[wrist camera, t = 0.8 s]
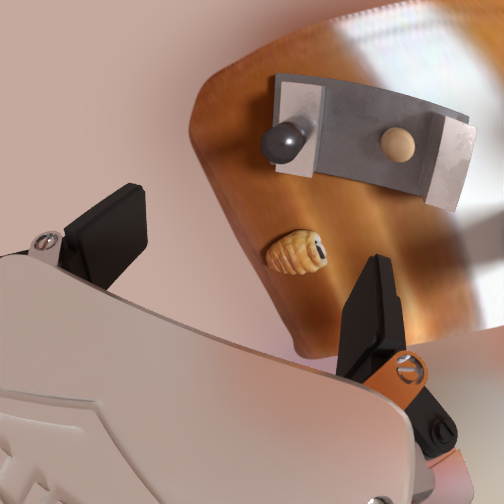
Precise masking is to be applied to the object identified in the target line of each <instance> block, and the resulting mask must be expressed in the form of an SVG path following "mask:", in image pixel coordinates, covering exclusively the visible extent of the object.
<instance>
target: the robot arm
mask: <svg viewBox="0 0 504 504" xmlns="http://www.w3.org/2000/svg"><path fill="white" fill-rule="evenodd" d="M64 232H65V236H64V237H63V238H62V235H61V234H60V233H59V232H56V231H48V232H44V233H42V234H40V235H38V236H37V237H36V238H35V239H34V240H33V241H32V243H31V246H30V249H29V250H25V251H21V252H17V253H12V254H8V255H4V256H0V504H471V502H472V500H473V497H474V488H473V484H472V481H471V479H470V475H469V473H468V470H467V467H466V465H465V462H464V459H463V456H462V454H461V451H460V449H458V450H456V449H455V444H456V442H457V437H458V435H457V428H456V425H455V423H454V421H453V420H452V419H451V417H449V415H448V414H447V412H446V411H445V410H444V409H443V408H442V406H441V405H440V404H439V403H438V401H437V400H436V399H435V398H434V396H433V395H432V394H431V393H430V392H429V390H428V389H427V388H426V387H425V386H424V385H425V384H426V382H427V380H428V370H427V367H426V365H425V363H424V361H423V360H422V359H421V358H420V357H419V356H418V355H417V354H415V353H413V352H411V351H406V341H405V331H404V322H403V314H402V307H401V300H400V298H399V297H398V296H397V295H396V288H395V282H394V276H393V270H392V264H391V259H390V258H388V257H385V256H382V255H379V254H376V255H375V256H374V257H373V256H370V257H369V259H368V261H367V263H366V265H365V267H364V269H363V271H362V273H361V275H360V277H359V279H358V281H357V283H356V284H355V286H354V288H353V290H352V292H351V294H350V296H349V298H348V300H347V301H346V303H345V305H344V308H343V311H342V321H341V332H340V342H339V352H338V361H337V368H336V375H334V374H330V373H327V372H324V371H321V370H317V369H313V368H310V367H307V366H303V365H300V364H297V363H294V362H290V361H287V360H284V359H281V358H277V357H274V356H271V355H268V354H265V353H262V352H259V351H256V350H253V349H249V348H247V347H243V346H241V345H238V344H235V343H232V342H230V341H227V340H224V339H221V338H219V337H216V336H213V335H210V334H208V333H205V332H202V331H200V330H197V329H195V328H192V327H189V326H187V325H184V324H182V323H179V322H177V321H174V320H172V319H169V318H167V317H165V316H162V315H160V314H158V313H155V312H153V311H151V310H148V309H146V308H143V307H141V306H139V305H137V304H134V303H132V302H130V301H128V300H125V299H123V298H121V297H119V296H117V295H115V294H112V293H110V292H108V291H106V290H107V289H108V288H109V287H110V286H111V285H112V284H113V283H114V281H115V280H116V279H117V278H118V277H119V276H120V275H121V274H122V273H123V272H124V270H126V268H127V267H128V266H129V265H130V264H131V263H132V262H133V261H134V260H135V259H136V258H137V257H138V256H139V255H140V254H141V253H142V252H143V251H144V250H145V248H146V247H147V243H148V240H147V239H148V238H147V222H146V202H145V191H144V190H143V188H142V186H141V185H137V184H132V183H128V184H126V185H124V186H123V187H121V188H120V189H118V190H117V191H115V192H114V193H112V194H111V195H109V196H108V197H106V198H105V199H104V200H102V201H101V202H99V203H98V204H96V205H95V206H94V207H92V208H91V209H89V210H88V211H87V212H85V213H84V214H82V215H81V216H80V217H78V218H77V219H76V220H74V221H73V222H72V223H70V224H69V225H68V226H67V227H65V228H64Z"/></svg>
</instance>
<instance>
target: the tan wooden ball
mask: <svg viewBox="0 0 504 504" xmlns="http://www.w3.org/2000/svg"><path fill="white" fill-rule="evenodd" d="M381 148H382V151H383V153H384V154H385V156H386V157H387V158H388V159H390V160H392V161H394V162H398V163H401V162H405V161H407V160H409V159H410V158H411V157H412V155H413V154H414V151H415V143H414V140H413V138H412V136H411V135H410V134H409V133H408V132H407V131H406V130H404V129H402V128H391V129H389V130H387V131H386V132H385V133H384V134H383V136H382V139H381Z"/></svg>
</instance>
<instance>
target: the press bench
mask: <svg viewBox="0 0 504 504" xmlns="http://www.w3.org/2000/svg"><path fill="white" fill-rule="evenodd" d="M282 82H297V83H306V84H314V85H321V86H326V89H325V100H324V110H323V120H322V129H321V138H320V146H319V155H318V163H317V167H316V169H315V171H314V172H319V173H324V174H329V175H334V176H339V177H344V178H349V179H353V180H358V181H362V182H366V183H371V184H375V185H379V186H383V187H387V188H391V189H395V190H399V191H403V192H406V193H410V194H414V195H417V196H421V197H422V199H423V201H424V203H425V204H429V205H432V206H435V207H439V208H442V209H445V210H448V211H452V212H455V210H456V207H457V204H458V201H459V198H460V195H461V191H462V188H463V185H464V181H465V178H466V174H467V171H468V167H469V163H470V159H471V155H472V151H473V147H474V142H475V138H476V133H477V128H475V127H472V126H470V125H468V122H469V117H468V116H466V115H464V114H461V113H459V112H456V111H453V110H451V109H448V108H445V107H442V106H440V105H437V104H434V103H431V102H428V101H425V100H421V99H418V98H415V97H411V96H408V95H404V94H401V93H397V92H393V91H389V90H385V89H381V88H377V87H372V86H368V85H363V84H358V83H353V82H347V81H341V80H335V79H329V78H322V77H314V76H305V75H296V74H284V73H276V77H275V94H274V112H273V127H275V126H276V125H278V124H279V116H280V101H281V84H282ZM391 128H402V129H404V130H406V131H407V132H408V133H409V134H410V135H411V136H412V138H413V140H414V143H415V151H414V154H413V155H412V157H411V158H410V159H409V160H407V161H405V162H401V163H398V162H394V161H392V160H390V159H388V158H387V157H386V156H385V154H384V153H383V151H382V148H381V139H382V136H383V134H384V133H385V132H386V131H387V130H389V129H391ZM270 164H272V165H276V164H275V163H273V162H271V161H270Z"/></svg>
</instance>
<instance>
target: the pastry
mask: <svg viewBox="0 0 504 504" xmlns="http://www.w3.org/2000/svg"><path fill="white" fill-rule="evenodd" d="M266 261H267V263H268V267H269V268H270V269H273V270H274V271H277V272H281V273H283V274H287V273H290V274H291V275H294V274H300V275H302V274H304V273H306V272H309V273H314V272H316V271H317V270H318V269H319V268H322V267H323V266H326V265H327V263H328V260H327V258H326V251H325V248H324V247H323V245H322V244H321V239H320V237H319V235H318V234H317V233H316V232H314V231H309V230H298V231H295V232H292V233H291V234H289V235H287V236H285V237H283V238H282V239H280V240H279V241H277V242H276V243H274V244H273V245H271V246H270V248H269V249H268V250H267V253H266Z"/></svg>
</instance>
